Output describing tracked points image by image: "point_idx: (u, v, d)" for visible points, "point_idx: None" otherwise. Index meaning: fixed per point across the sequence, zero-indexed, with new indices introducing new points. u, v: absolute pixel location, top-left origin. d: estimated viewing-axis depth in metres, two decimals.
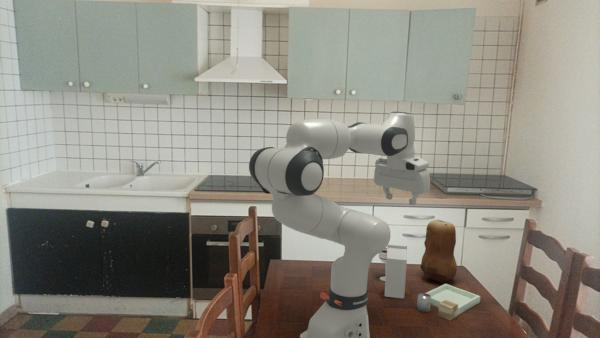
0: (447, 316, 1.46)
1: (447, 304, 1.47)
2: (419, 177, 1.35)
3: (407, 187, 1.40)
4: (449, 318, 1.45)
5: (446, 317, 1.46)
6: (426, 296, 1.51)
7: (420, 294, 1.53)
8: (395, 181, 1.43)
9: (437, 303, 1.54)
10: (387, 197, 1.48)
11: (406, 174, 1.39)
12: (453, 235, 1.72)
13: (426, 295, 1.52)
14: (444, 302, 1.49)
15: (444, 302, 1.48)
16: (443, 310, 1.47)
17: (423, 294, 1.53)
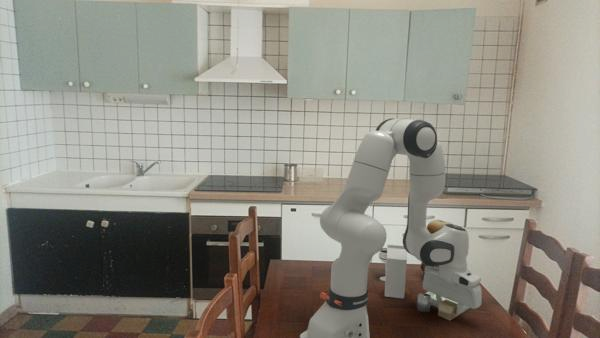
0: (447, 316, 1.46)
1: (447, 303, 1.47)
2: (472, 293, 1.39)
3: (458, 299, 1.44)
4: (449, 318, 1.45)
5: (446, 317, 1.46)
6: (426, 296, 1.51)
7: (420, 294, 1.53)
8: (445, 291, 1.47)
9: (437, 303, 1.54)
10: None
11: (458, 287, 1.43)
12: None
13: (426, 295, 1.52)
14: (444, 302, 1.49)
15: (444, 302, 1.48)
16: (443, 310, 1.47)
17: (423, 294, 1.53)
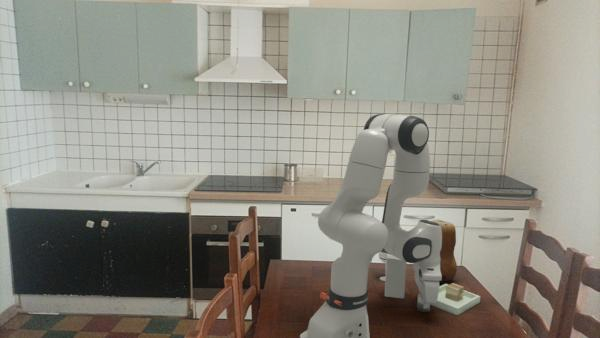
0: (454, 297, 1.58)
1: (454, 286, 1.60)
2: (424, 286, 1.42)
3: (422, 292, 1.48)
4: (455, 299, 1.57)
5: (453, 298, 1.58)
6: None
7: (420, 294, 1.53)
8: (419, 283, 1.52)
9: (437, 303, 1.54)
10: None
11: None
12: (453, 235, 1.72)
13: None
14: (451, 285, 1.61)
15: (451, 285, 1.60)
16: (450, 292, 1.59)
17: None
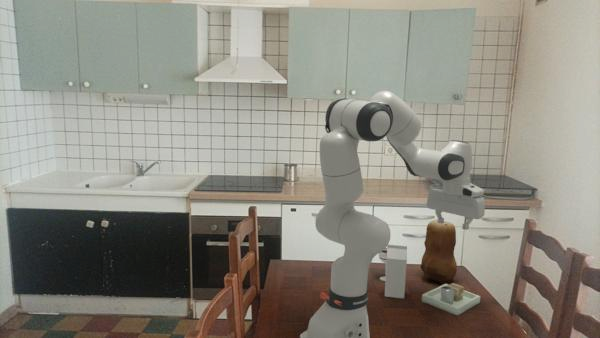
0: (454, 297, 1.58)
1: (454, 286, 1.60)
2: (475, 203, 1.43)
3: (462, 212, 1.48)
4: (455, 299, 1.57)
5: None
6: (450, 289, 1.56)
7: (443, 289, 1.56)
8: (449, 206, 1.51)
9: (437, 303, 1.54)
10: (439, 221, 1.56)
11: (462, 200, 1.47)
12: (453, 235, 1.72)
13: (448, 288, 1.57)
14: (451, 285, 1.61)
15: (451, 285, 1.60)
16: None
17: (445, 288, 1.57)
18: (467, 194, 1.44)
